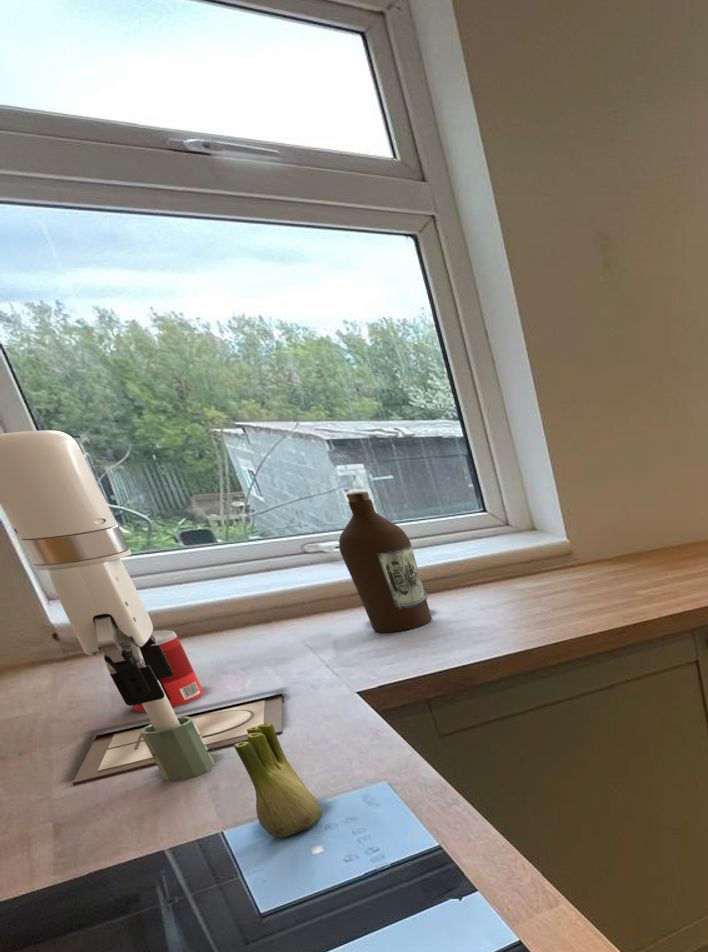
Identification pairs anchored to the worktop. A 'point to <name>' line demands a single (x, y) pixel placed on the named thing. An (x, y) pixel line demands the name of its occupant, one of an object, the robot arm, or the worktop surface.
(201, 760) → the pen cup
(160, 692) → the robot arm
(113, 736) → the framed abstract picture
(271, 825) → the fennel bulb
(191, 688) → the canned food
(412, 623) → the brown stoneware bottle
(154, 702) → the cylinder
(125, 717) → the worktop surface
